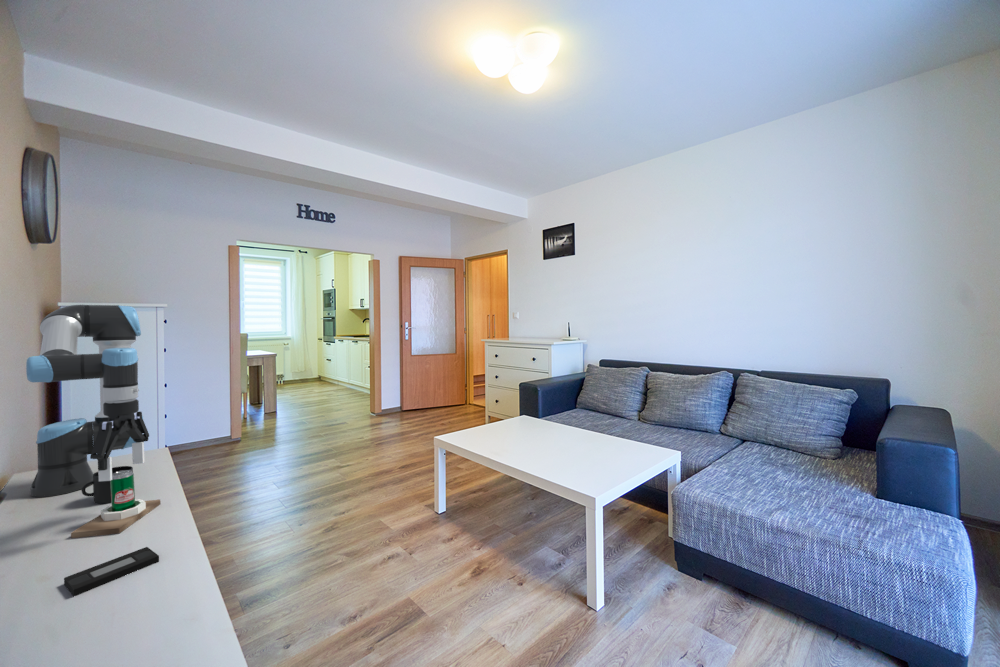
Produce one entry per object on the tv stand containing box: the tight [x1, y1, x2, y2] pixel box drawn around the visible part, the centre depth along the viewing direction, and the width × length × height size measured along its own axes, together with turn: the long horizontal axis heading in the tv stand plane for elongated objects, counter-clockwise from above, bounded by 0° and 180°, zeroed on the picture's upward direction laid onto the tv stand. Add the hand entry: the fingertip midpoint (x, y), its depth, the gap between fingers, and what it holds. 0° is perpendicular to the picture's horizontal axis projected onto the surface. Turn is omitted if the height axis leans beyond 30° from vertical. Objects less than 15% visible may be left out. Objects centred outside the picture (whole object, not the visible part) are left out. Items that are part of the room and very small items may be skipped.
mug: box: [81, 465, 134, 505], centre depth 129 cm, size 9×12×9 cm
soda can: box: [110, 470, 136, 512], centre depth 117 cm, size 5×5×12 cm
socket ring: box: [100, 498, 146, 521], centre depth 117 cm, size 9×9×2 cm
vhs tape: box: [63, 546, 160, 597], centre depth 91 cm, size 8×14×2 cm, turn 149°
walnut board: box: [70, 499, 161, 539], centre depth 116 cm, size 18×11×2 cm, turn 13°
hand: (122, 471), depth 117 cm, fingers open, 13 cm apart
